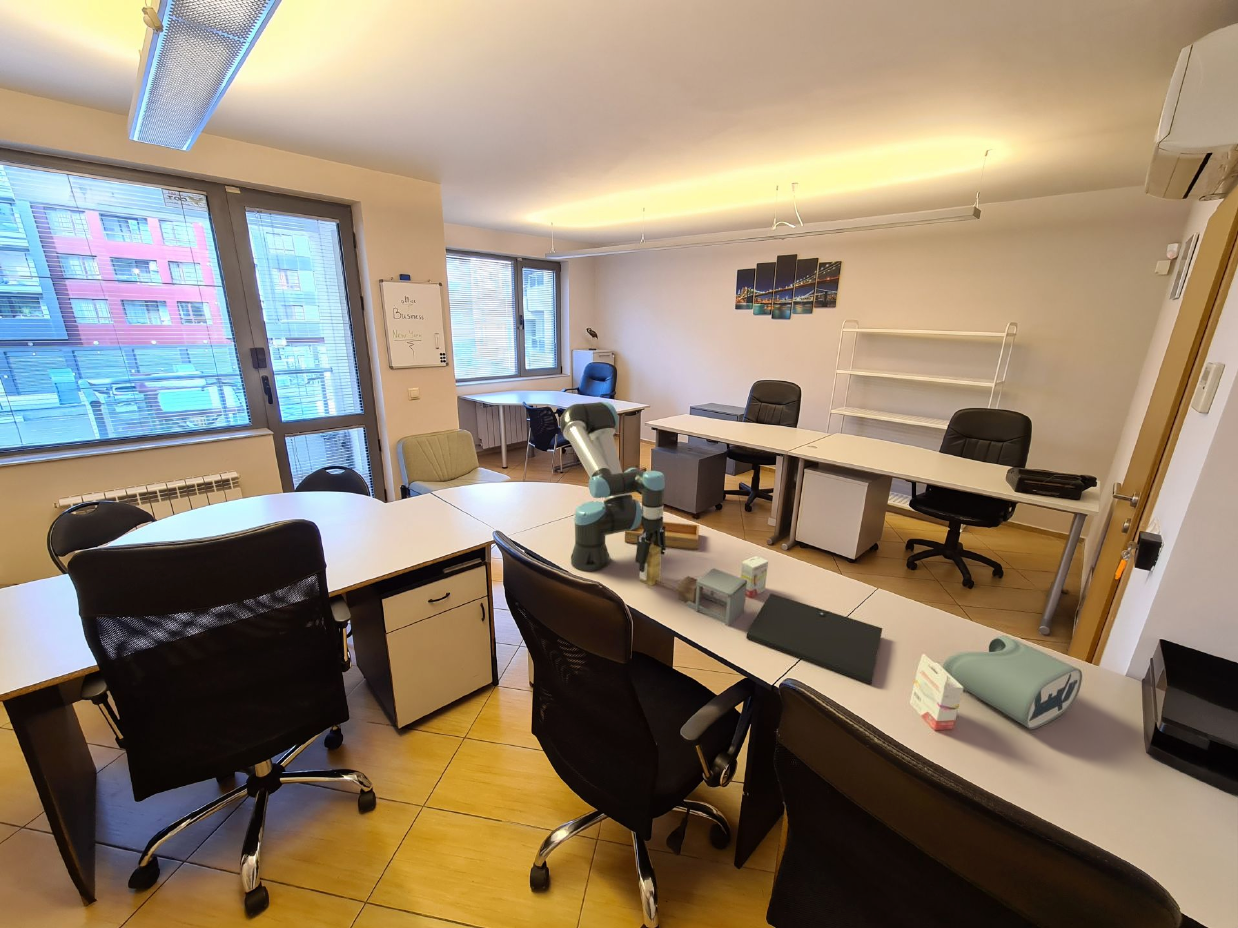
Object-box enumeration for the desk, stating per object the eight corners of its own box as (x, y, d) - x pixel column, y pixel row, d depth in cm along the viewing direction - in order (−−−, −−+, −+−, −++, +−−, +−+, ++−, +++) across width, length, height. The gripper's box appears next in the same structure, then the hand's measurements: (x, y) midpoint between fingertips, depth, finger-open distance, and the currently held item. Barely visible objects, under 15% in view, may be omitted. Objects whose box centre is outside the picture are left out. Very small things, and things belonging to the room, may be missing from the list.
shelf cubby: (685, 606, 153) (687, 577, 149) (702, 593, 161) (704, 564, 158) (727, 626, 143) (730, 594, 140) (744, 610, 151) (747, 580, 148)
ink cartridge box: (954, 729, 107) (968, 676, 103) (934, 731, 106) (947, 677, 102) (927, 701, 115) (939, 651, 111) (908, 702, 114) (920, 651, 110)
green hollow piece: (1022, 738, 104) (1034, 689, 101) (937, 684, 121) (945, 641, 118) (1075, 708, 113) (1087, 662, 110) (988, 662, 130) (996, 621, 127)
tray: (698, 535, 207) (699, 523, 205) (697, 550, 192) (698, 538, 191) (630, 529, 212) (630, 517, 211) (624, 543, 198) (624, 531, 196)
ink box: (749, 598, 158) (753, 567, 154) (738, 592, 162) (741, 561, 158) (765, 590, 163) (769, 560, 159) (754, 584, 166) (757, 554, 163)
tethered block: (639, 581, 167) (640, 548, 164) (649, 575, 172) (650, 543, 168) (693, 604, 154) (695, 569, 150) (702, 597, 158) (704, 563, 154)
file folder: (882, 626, 138) (873, 675, 119) (880, 638, 139) (870, 688, 120) (771, 591, 155) (746, 629, 136) (769, 602, 157) (745, 641, 137)
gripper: (642, 527, 151) (641, 589, 157) (677, 510, 166) (674, 567, 173) (625, 521, 156) (624, 581, 162) (660, 504, 171) (658, 560, 177)
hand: (650, 574), depth 167 cm, fingers open, 8 cm apart
